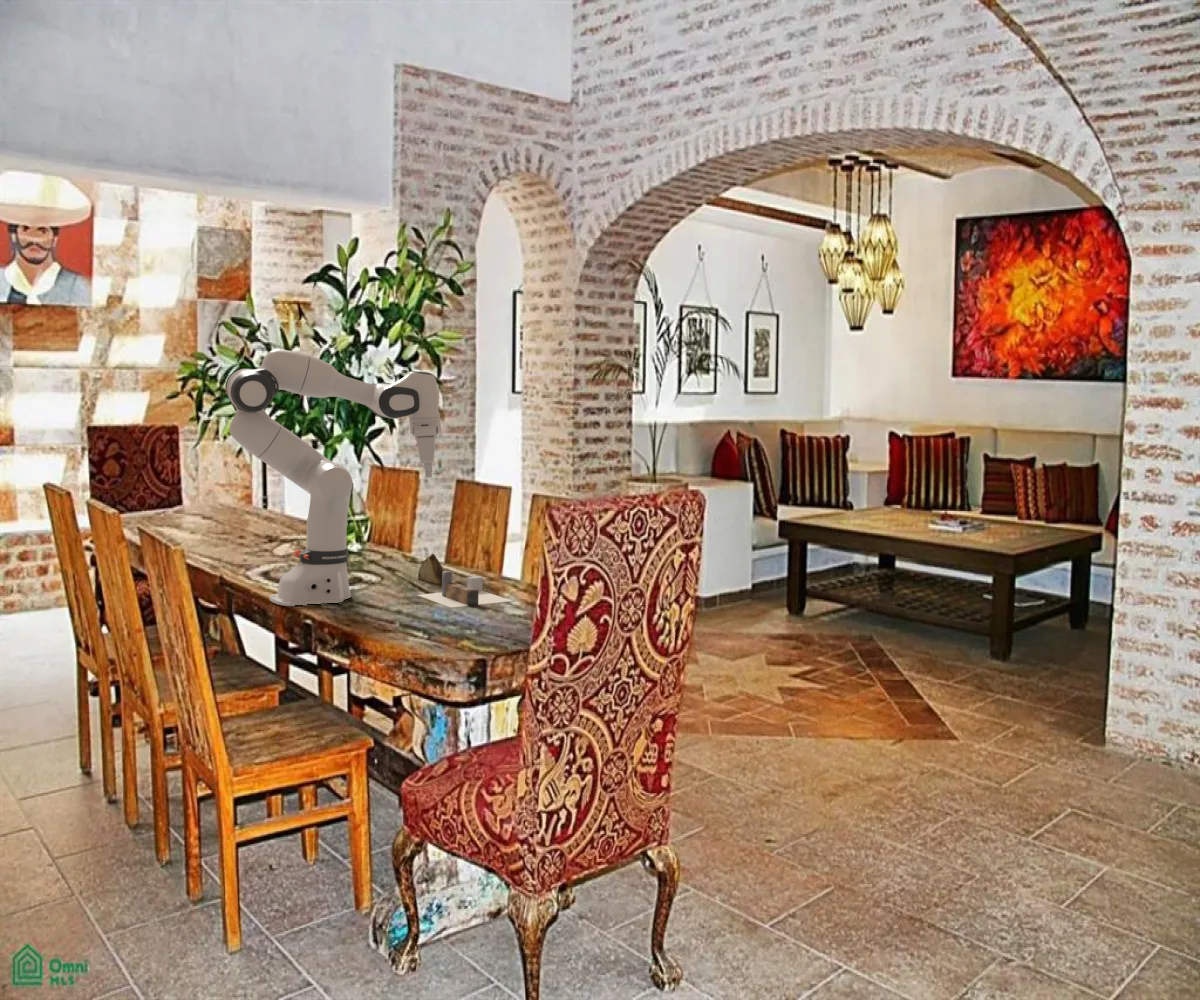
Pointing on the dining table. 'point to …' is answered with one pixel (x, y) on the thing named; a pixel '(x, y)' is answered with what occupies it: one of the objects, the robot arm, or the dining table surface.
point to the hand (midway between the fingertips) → (428, 474)
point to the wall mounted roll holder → (471, 583)
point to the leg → (462, 594)
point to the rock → (431, 570)
